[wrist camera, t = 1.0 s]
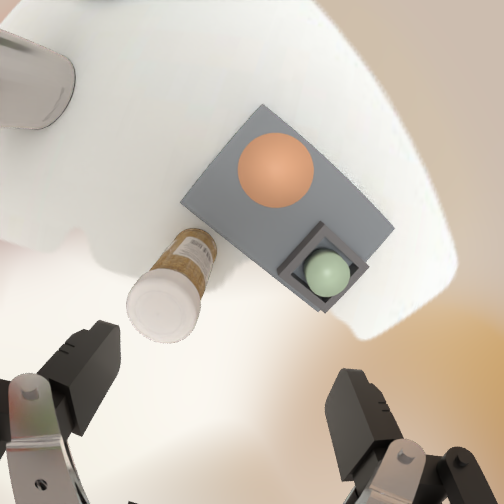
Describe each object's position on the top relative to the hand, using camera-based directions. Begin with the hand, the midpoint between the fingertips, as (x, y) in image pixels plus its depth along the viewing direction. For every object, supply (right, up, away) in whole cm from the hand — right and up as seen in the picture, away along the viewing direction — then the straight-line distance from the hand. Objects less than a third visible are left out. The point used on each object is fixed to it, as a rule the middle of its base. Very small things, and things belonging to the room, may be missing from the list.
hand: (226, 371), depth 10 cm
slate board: (+5, +8, +19) cm, 21 cm away
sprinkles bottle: (-5, +4, +20) cm, 21 cm away
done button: (+8, +3, +19) cm, 20 cm away
